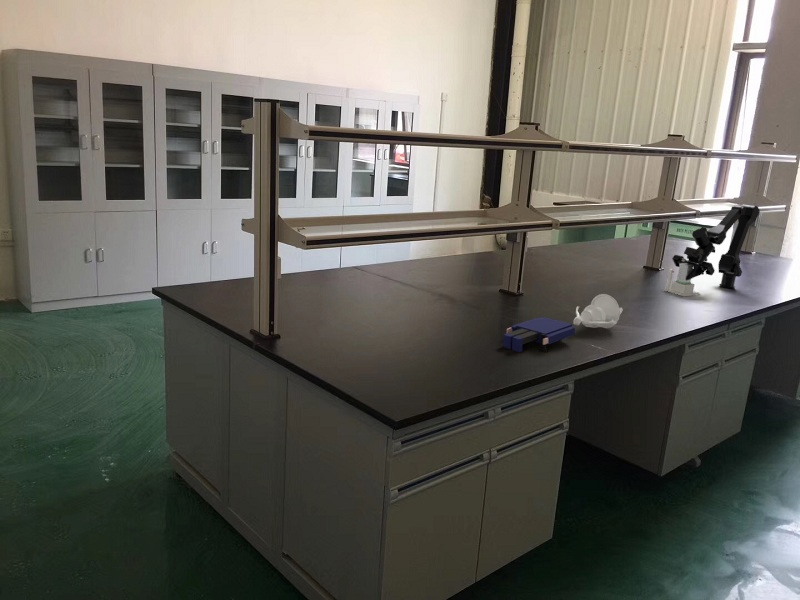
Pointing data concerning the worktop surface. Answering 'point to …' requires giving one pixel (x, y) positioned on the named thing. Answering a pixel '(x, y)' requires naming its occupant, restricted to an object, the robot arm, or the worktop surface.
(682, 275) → the column
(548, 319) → the blue flat boxy piece
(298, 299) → the worktop surface
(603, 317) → the figurine
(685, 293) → the stand
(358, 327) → the worktop surface
